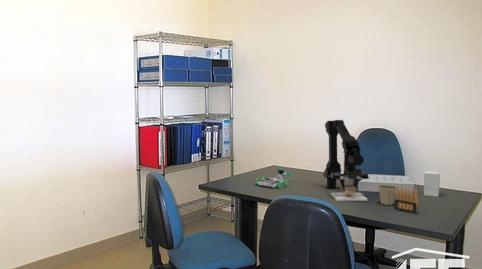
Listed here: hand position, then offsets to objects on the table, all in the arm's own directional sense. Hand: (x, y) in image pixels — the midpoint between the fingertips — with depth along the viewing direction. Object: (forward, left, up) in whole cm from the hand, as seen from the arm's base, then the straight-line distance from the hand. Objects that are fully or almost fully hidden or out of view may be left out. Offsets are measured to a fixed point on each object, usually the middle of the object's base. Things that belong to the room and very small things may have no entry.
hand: (348, 191), depth 223 cm
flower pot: (+13, +16, -4) cm, 21 cm away
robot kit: (-33, -36, -4) cm, 49 cm away
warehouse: (-19, +26, -4) cm, 32 cm away
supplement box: (-5, +47, -4) cm, 47 cm away
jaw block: (0, 0, -1) cm, 1 cm away
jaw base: (0, 0, -3) cm, 3 cm away
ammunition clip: (+27, +20, -4) cm, 33 cm away
